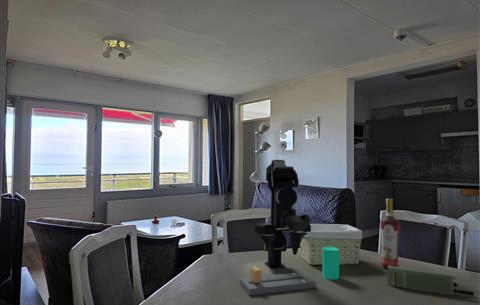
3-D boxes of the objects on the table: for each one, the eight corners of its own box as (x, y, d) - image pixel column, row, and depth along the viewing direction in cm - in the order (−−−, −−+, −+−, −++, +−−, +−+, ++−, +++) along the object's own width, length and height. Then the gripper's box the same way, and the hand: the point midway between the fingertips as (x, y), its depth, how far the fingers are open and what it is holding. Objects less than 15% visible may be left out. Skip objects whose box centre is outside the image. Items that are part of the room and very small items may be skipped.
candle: (339, 280, 116) (339, 246, 116) (322, 278, 117) (322, 245, 117) (338, 274, 121) (338, 242, 122) (322, 273, 123) (322, 242, 123)
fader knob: (250, 279, 109) (250, 266, 109) (257, 278, 109) (257, 266, 110) (254, 283, 105) (254, 270, 105) (261, 282, 106) (261, 269, 106)
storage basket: (347, 255, 149) (347, 223, 150) (364, 266, 133) (364, 230, 133) (297, 255, 146) (297, 223, 147) (308, 267, 130) (308, 230, 131)
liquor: (379, 268, 130) (378, 199, 131) (381, 263, 136) (381, 197, 137) (399, 271, 126) (398, 200, 127) (400, 266, 132) (400, 198, 133)
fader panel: (239, 284, 111) (239, 277, 111) (301, 277, 118) (301, 271, 118) (249, 295, 101) (249, 288, 101) (316, 287, 108) (316, 281, 108)
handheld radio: (387, 283, 114) (472, 295, 104) (388, 286, 111) (475, 299, 101) (387, 264, 114) (472, 275, 104) (387, 267, 111) (474, 278, 101)
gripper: (276, 207, 90) (276, 264, 88) (323, 206, 100) (324, 257, 98) (253, 205, 99) (253, 257, 97) (298, 204, 109) (299, 251, 107)
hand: (283, 256), depth 100 cm, fingers open, 9 cm apart
